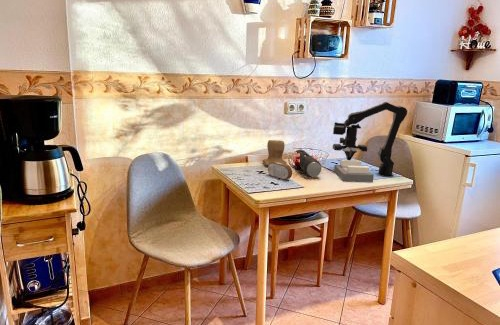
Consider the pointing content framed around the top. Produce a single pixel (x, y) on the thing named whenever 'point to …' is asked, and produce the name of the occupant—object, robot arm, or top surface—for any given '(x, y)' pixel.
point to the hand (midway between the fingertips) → (348, 162)
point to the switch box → (352, 175)
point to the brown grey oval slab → (279, 170)
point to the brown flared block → (275, 152)
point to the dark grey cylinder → (309, 164)
